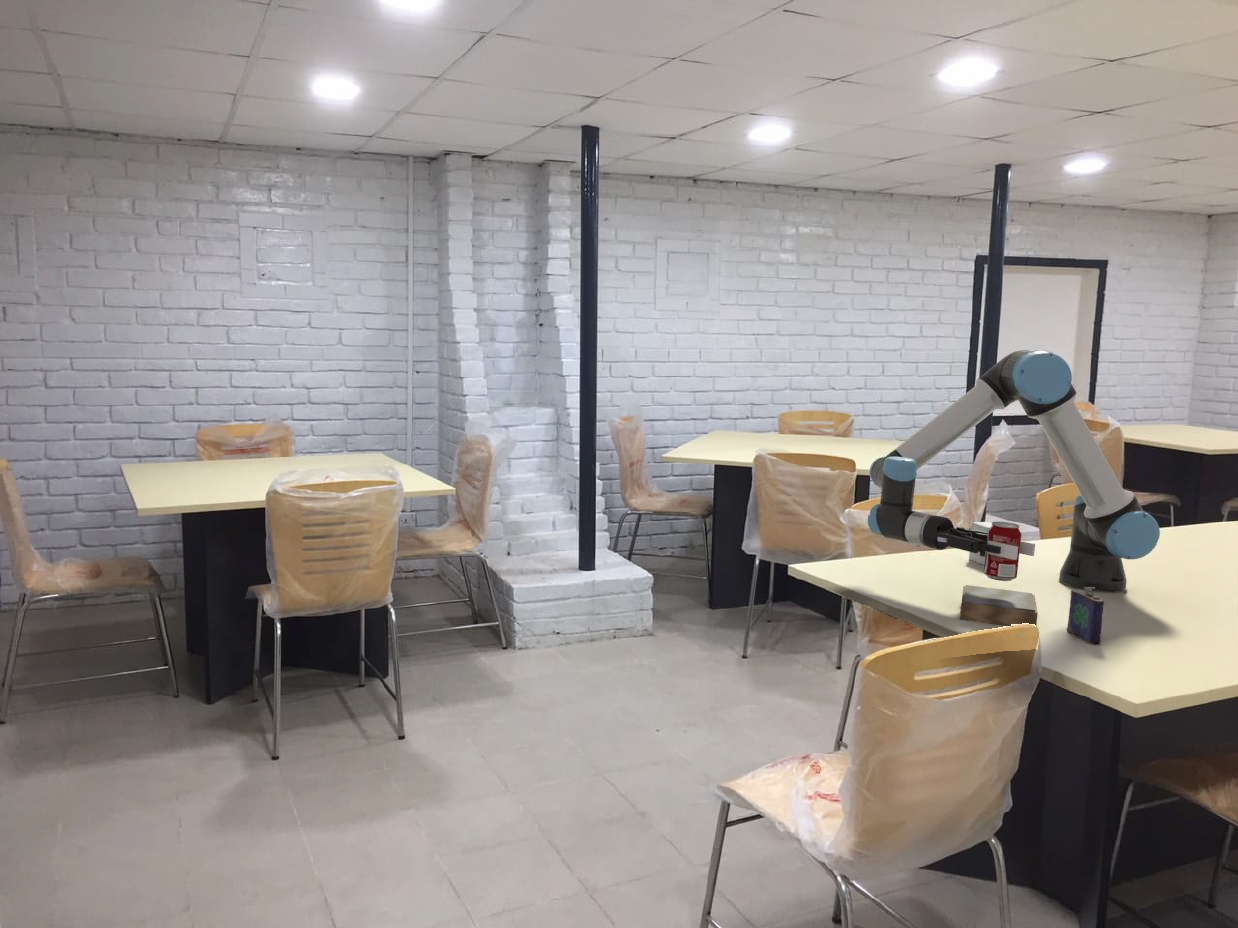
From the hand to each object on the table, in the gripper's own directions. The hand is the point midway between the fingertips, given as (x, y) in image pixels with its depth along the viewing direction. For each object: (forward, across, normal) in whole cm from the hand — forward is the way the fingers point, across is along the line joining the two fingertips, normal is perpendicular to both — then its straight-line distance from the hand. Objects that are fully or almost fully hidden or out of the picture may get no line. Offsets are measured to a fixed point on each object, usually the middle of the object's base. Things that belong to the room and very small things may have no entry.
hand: (1025, 551), depth 206 cm
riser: (-5, 0, -15) cm, 16 cm away
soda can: (-5, 0, -7) cm, 9 cm away
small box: (-34, -46, -15) cm, 59 cm away
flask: (+14, -1, -15) cm, 21 cm away
